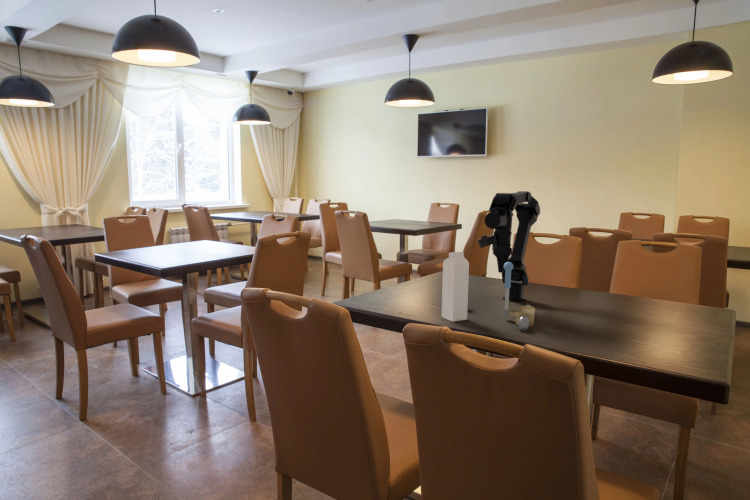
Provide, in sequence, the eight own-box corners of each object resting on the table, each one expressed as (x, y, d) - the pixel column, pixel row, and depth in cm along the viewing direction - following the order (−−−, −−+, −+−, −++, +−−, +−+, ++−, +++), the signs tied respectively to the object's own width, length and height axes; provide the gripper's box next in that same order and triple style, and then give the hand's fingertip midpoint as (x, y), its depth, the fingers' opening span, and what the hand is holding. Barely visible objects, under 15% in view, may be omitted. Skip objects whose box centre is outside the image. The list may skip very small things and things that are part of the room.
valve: (512, 312, 172) (512, 300, 172) (535, 314, 170) (536, 302, 169) (505, 329, 152) (505, 315, 151) (531, 332, 149) (532, 318, 149)
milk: (467, 319, 163) (470, 252, 160) (452, 322, 160) (455, 253, 157) (455, 315, 168) (458, 250, 165) (440, 317, 165) (443, 251, 162)
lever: (502, 314, 164) (504, 260, 162) (511, 315, 163) (514, 261, 161) (500, 316, 161) (503, 262, 159) (510, 317, 160) (513, 262, 158)
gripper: (480, 226, 187) (477, 268, 188) (479, 228, 169) (476, 273, 170) (510, 228, 185) (507, 270, 186) (513, 230, 167) (510, 276, 168)
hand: (500, 272), depth 178 cm, fingers closed
